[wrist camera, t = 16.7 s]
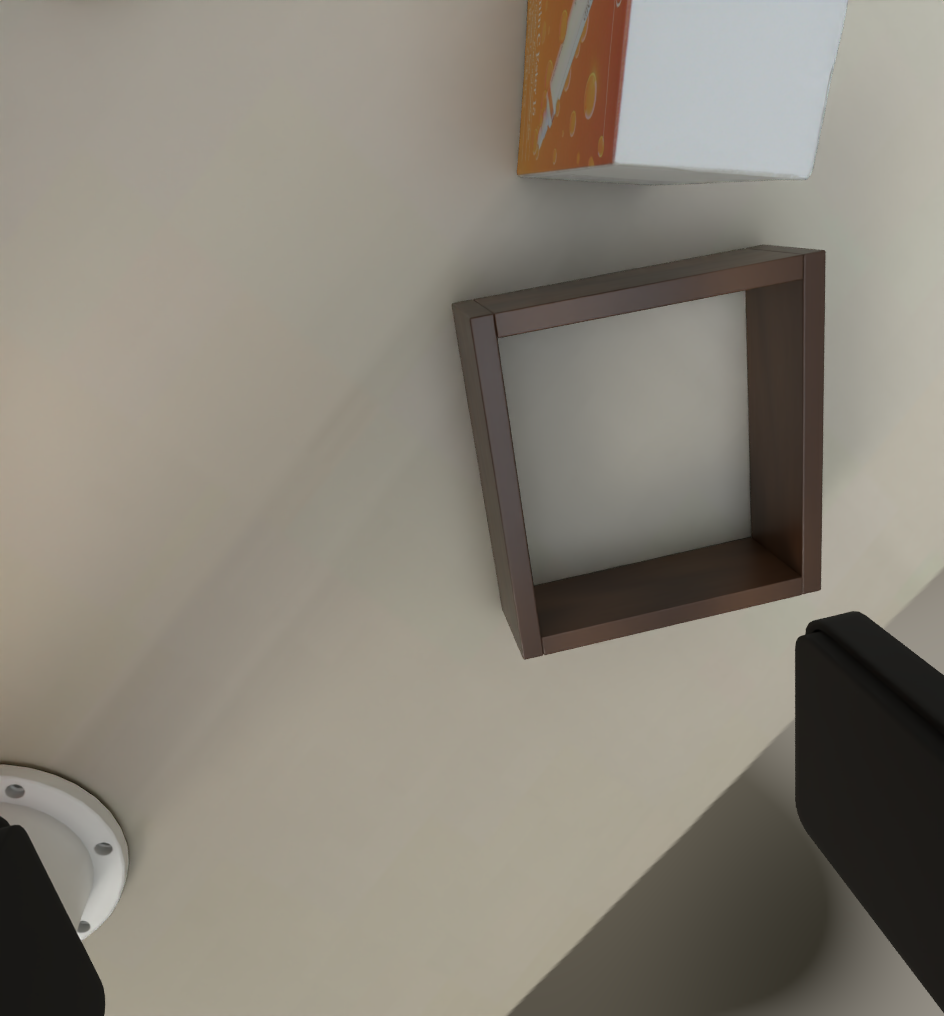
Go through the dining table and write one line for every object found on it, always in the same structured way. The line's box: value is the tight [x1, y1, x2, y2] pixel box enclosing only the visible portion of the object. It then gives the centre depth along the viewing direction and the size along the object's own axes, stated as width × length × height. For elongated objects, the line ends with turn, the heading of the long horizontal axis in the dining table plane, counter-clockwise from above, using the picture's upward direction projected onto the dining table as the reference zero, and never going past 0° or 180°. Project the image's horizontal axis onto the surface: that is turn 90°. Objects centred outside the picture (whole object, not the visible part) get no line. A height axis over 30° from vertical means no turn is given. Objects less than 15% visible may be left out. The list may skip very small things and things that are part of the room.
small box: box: [517, 0, 848, 185], centre depth 27 cm, size 8×6×13 cm
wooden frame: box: [452, 245, 825, 659], centre depth 37 cm, size 15×16×5 cm
